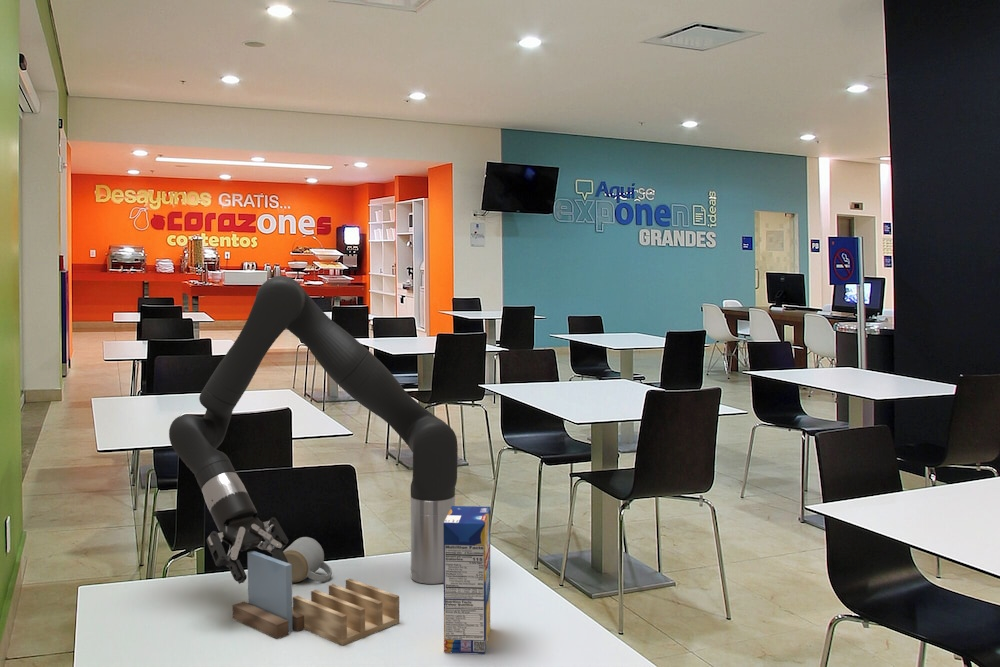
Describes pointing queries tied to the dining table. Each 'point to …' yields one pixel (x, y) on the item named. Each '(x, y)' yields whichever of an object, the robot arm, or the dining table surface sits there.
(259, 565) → the pale blue board
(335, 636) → the rack
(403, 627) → the dining table surface
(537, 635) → the dining table surface
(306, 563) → the ceramic mug
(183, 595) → the dining table surface
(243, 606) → the stand
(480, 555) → the beverage box
